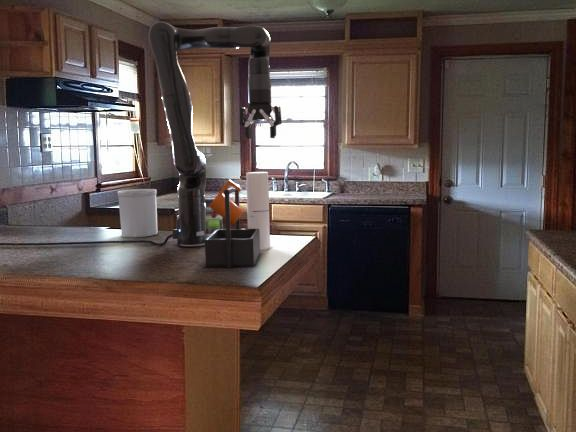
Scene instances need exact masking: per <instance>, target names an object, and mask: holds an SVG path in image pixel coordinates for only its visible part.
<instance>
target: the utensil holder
mask: <svg viewBox="0 0 576 432" xmlns="http://www.w3.org/2000/svg"><path fill="white" fill-rule="evenodd" d="M157 193H158V191H157V189H156V188H134V189H132V188H131V189H124V190H123V189H122V190H118V191H117V194H116V195H117V196H118V197H117V198H118V209H119V219H120V220H119V223H120V230H121V231H120V232H121V236H122V237H123V238H146V237H151V236H156V235H157V234H158V211H157V210H158V209H157Z"/></svg>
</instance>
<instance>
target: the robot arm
mask: <svg viewBox="0 0 576 432" xmlns="http://www.w3.org/2000/svg"><path fill="white" fill-rule="evenodd" d="M148 41H149V45H150V49H151V51H152V54H153V55H152V56H153V58H154V62H155V65H156V70H157V76H158V81H159V87H160V93H161V99H162V104H163V108H164V112H165V113H164V114H165V117H166V121H167V126H168V129H169V134H170V138H171V146H172V159H173V165H174V168H175V170H176V171H177V173H179V184H178V187H177V206H178V217H177V218H176V220H175V223H176V228H174V229H172V233H171V234H169V235H168V236H166V238H165V239H164V241H163V242H161V243H159V242H156V241H154V240H149V239H148V240H146V239H141V240H140V239H137V240H136V239H135V240H134V239H133V240H97V241H96V240H92V241H89V240H88V241H64V242H63V241H61V242H59V241H58V242H0V246H64V245H65V246H67V245H68V246H69V245H71V246H72V245H97V244H98V245H99V244H143V243H145V244H152V245H155V246H165V245H166V244H167V243H168V242H169V240H170V239H171V238H172V239H173V240H176V242H177V243H176V244H177V247H183V248H197V247H199V248H200V247H205V239H206V238H207V237H208V236H207V234H206V207H205V197H206V188H207V187H206V186H207V165H206V164H207V163H206V158H205V155H204V153H202V152H201V151H200V150H199V149H198V148H197V146H196V143H195V140H194V139H195V138H194V136H193V135H194V134H193V104H192V100H191V93H190V89H189V86H188V83H187V81H186V79H185V75H184V74H183V72H182V69H181V67H180V64H179V61H178V55H177V52H180V51H186V50H197V49H198V50H199V49H201V50H202V49H203V50H204V49H206V50H211V49H212V50H237V49H239V48H249V59H248V61H247V62H248V64H247V66H248V67H247V70H248V78H247V93H248V94H247V96H248V107H240V108H239V125H240V126H241V127H244V128H245V129H244V131H245V132H244V133H245V137H246V139H247V140H251V139H252V136H253V135H252V133H253V132H252V126H253V124H254V123H255V121H266V122H268V124H269V138H270V139H275V138H276V136H277V126H280V125H282V123H283V121H282V109H281V106H279V105H274V106H272V81H271V76H270V75H271V72H270V71H271V70H270V69H271V67H270V54H271V37H270V34H269V32H268V31H267V30H266V29H265V28H264V27H263V26H260V25H243V26H237V27H236V26H213V27H207V28H200V29H187V28H186V29H185V28H179V27H176V26H174V25H172V24H170V23H168V22H166V21H157V22H155V23H153V24H152V25H151V26H150V28H149V31H148ZM272 112H273V113H274V117H273V116H272V115H271V114H272ZM247 114H249V116H248V117H247Z"/></svg>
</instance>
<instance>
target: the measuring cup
mask: <svg viewBox="0 0 576 432" xmlns="http://www.w3.org/2000/svg"><path fill="white" fill-rule="evenodd" d="M236 184H237V183H235V182H234V181H233V180H232V179H228V180H227V182H226V183H225V184H224V185H223V187H222V188H221V190H220V191H219V192H218V194H217V195H216V196H214V197H215V199H214V200H213V201H212V202H211V204H210V205H209V207H210V208H211V209H213V210H214V211H215V212H216V213H218V214H219V215H220V216H222V219H224V220H225V194H224V190H226V189H228V188H230V187H231V186H232V187H234V188H235V189H236V190H238V191H239V193H240V192H242V190H243V188H241V186H240V185H239V184H238V185H239V186H238V185H236ZM244 212H245V210H244V209H243V208H242V207H240V205H239V206H237V205H236V204H235V202H234V201H232V200H231V199H230V225H232V226H234V225H236V221H237V220H238V219H239V217H240V218H241V216H242V215H243V214H244Z"/></svg>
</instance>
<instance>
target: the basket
mask: <svg viewBox="0 0 576 432" xmlns="http://www.w3.org/2000/svg"><path fill="white" fill-rule="evenodd" d="M235 184H236V185H238V186H239V187H240V184H238V183H235ZM232 193H234V203H235V204H236V205H237V206H239V207H240V192H239V191H238V190H236V189H235V188H234V187H232V186H231V185H230V186H229V187H228V188H227V189H226V190H224V193H223V195H224V196H225V219H224V220H225V228H223V229H216V230H215V231H214V232H213V233H212V234H211V235H209V236H207V238H206V239H205V246H204V257H205V268H207V269H209V268H211V269H212V268H213V269H215V268H226V269H232V268H255V265H256V263H257V261H258V259H259V257H260V255H261V250H260V231H259V229H248V228H241V216H240V217H239V219H238V220H237V221H236V222H235V228H231V223H230V200H231V198H230V195H231V194H232Z"/></svg>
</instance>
